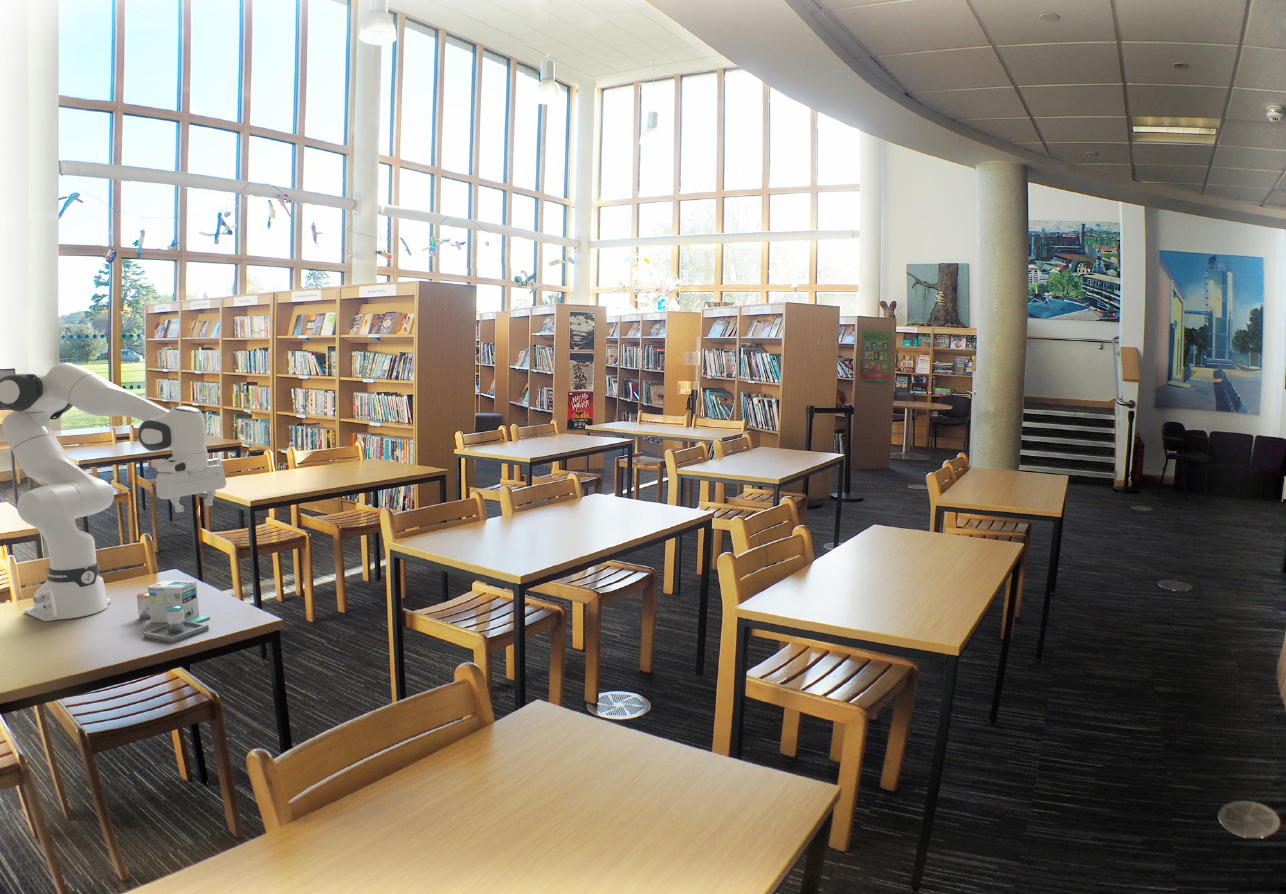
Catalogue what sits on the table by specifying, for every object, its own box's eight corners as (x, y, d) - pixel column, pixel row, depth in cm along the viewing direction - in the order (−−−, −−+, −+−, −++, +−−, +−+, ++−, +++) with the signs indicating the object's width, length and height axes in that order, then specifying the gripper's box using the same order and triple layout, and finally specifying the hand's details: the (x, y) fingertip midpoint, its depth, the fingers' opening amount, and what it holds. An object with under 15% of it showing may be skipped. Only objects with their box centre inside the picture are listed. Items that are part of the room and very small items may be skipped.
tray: (143, 638, 212) (143, 632, 212) (180, 624, 223) (180, 619, 222) (172, 643, 208) (171, 638, 208) (208, 629, 218) (208, 624, 218)
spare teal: (175, 635, 213) (173, 610, 212) (164, 633, 214) (162, 608, 213) (188, 630, 217) (186, 605, 216) (178, 628, 218) (176, 604, 217)
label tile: (186, 623, 224) (186, 621, 224) (202, 617, 228) (202, 615, 228) (194, 624, 223) (194, 622, 223) (209, 618, 227) (209, 616, 227)
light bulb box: (200, 616, 230) (197, 580, 228) (184, 624, 223) (181, 587, 222) (166, 614, 231) (163, 579, 229) (149, 623, 224) (146, 586, 223)
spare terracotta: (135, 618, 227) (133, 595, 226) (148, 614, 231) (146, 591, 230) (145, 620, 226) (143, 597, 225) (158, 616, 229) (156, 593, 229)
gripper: (214, 456, 239) (217, 501, 240) (150, 466, 220) (154, 514, 222) (229, 457, 236) (232, 502, 238) (166, 467, 218) (170, 516, 219)
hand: (194, 508), depth 230 cm, fingers open, 8 cm apart
